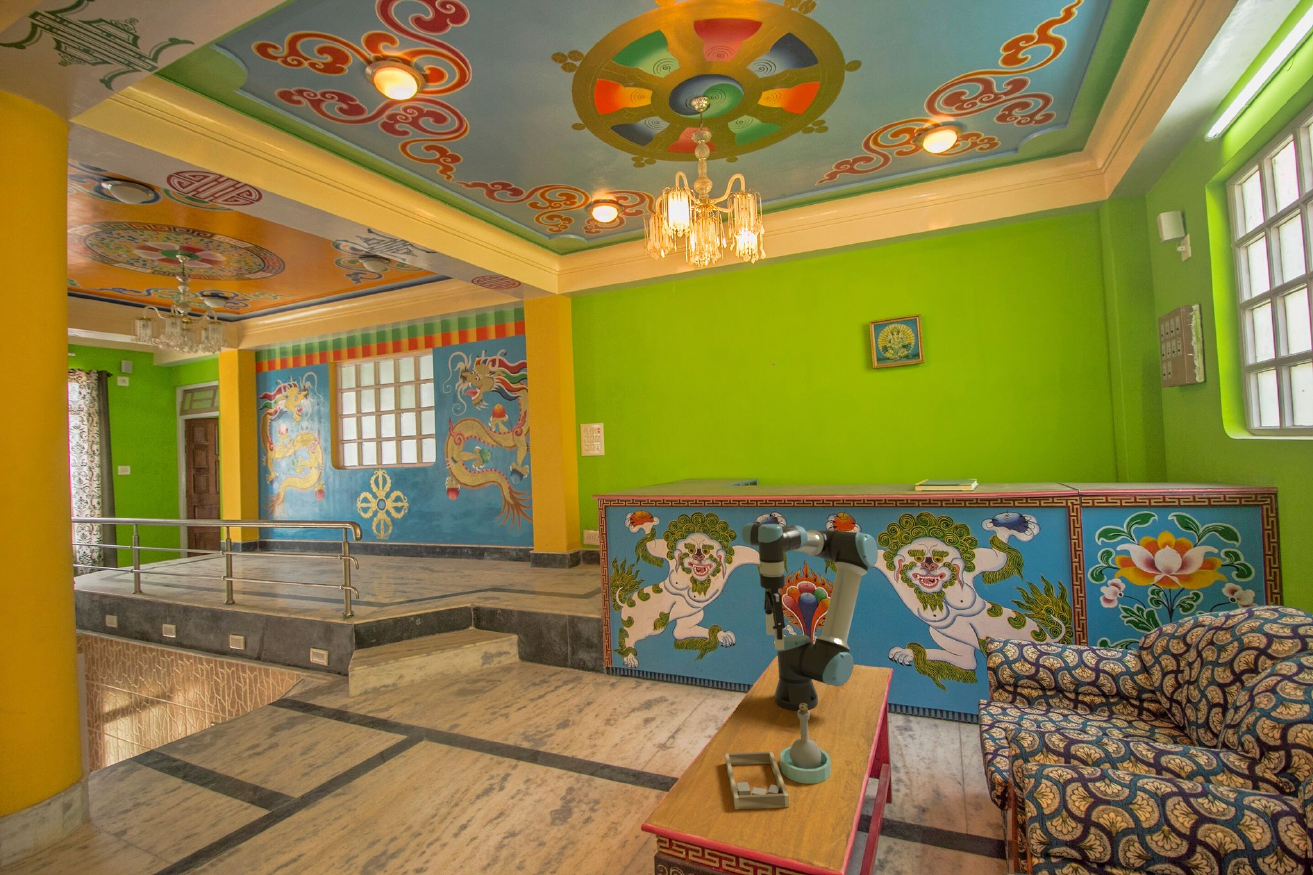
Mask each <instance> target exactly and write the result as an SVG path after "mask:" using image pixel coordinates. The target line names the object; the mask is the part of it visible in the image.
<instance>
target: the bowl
mask: <svg viewBox="0 0 1313 875" xmlns="http://www.w3.org/2000/svg"><path fill="white" fill-rule="evenodd" d="M791 747H792V745H791V746H787V747H786V748H783V750H782V751H781V752H780V755H779V763H780V764H779V766H780V768H779V769H780V770H781V771H780V772H781V774H783V776H784V777H786V778H787V779H789V780H792V781H793V782H796V783H801V784H807V785H811V784H820V783H823V782H825V781H827V780H828V779H829V778H830V777H831V775H832V759H831V757H830V755H829V752H826V751H825V750H823V749H822V748H820V747H819V749H820V752H821V762H820V767H818V768H816V769H802V768H797V767H795V766H794V765H793V762H792V760H791V756H790V751H791Z"/></svg>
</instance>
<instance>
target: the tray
mask: <svg viewBox="0 0 1313 875" xmlns="http://www.w3.org/2000/svg"><path fill="white" fill-rule="evenodd" d="M724 755H725V757H724V759H725V766H726V772H727V776H728V782H729V785H730V786H729V787H730V791H731V795H732V801H733V806H734V809H735V810H752V809H756V810H757V809H776V808H777V809H778V808H779V809H780V808H789V807H790V795H789V792H788V791H787V787H786V785H785V781H784V778H783V777H782V772H781V771H780V768H779V766H778V763H777V760H776V758H775V755H774V752H773V750H772V751H771V750H770V751H751V752H750V751H749V752H729V753H728V752H726V753H724ZM763 764H764V765H765V764H766V765H767V764H769V765H770V767H771V771H772V773H773V775H774V778H775V782H776V784H777V786H780V794H768V793H767V794H761V795H752V794H751V795H738V793H737V783H736V781H735V775H734V771H733V766H737V765H739V766H740V765H741V766H742V765H746V766H747V765H763Z"/></svg>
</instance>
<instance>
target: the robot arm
mask: <svg viewBox="0 0 1313 875" xmlns="http://www.w3.org/2000/svg"><path fill="white" fill-rule="evenodd" d="M741 539H742V542H743V543H744V544H745V545H750V546H755V547H758V554H759V555H758V556H759V563H758V564H757V567H758V568H759V572H760V575H759V581H760V587H762V589H764V605H763V610H764V612H765V632H766V635H767V636H773V637H774V638H773V639H774V650H776V651H777V666H778V682H777V686H776V688H775V692H774V702H775V704H776V705H778V706H780V707H781V708H784V709H787V710H792V711H798V710H799V705H800V704H801V703H806V704H807V705H808V706H807V707H808V710H812V709H814V708H816V707H817V705H818V704H819V698H818V696H819V695H818V693H817V690H816V688H815V684H814V682H813V681H817V682H820V683H822V684H824V685H827V686H833V687H843V686H844V685H845V684H847V683H848V681H849V680H850V678H851V677H852V674H853V671H854V667H855V666H854V658H853V656H852V655H851V653H850V651H851V648H850V646H849V645H848V638H849V634H850V630H851V626H852V621H853V617H854V611H855V607H856V603H857V599H858V594H859V590H860V585H861V581H862V577H863V576H865V575H867V574H868V570H869V568H872V567H874V566H875V565H876V564H877V562H878V558H879V551H878V545H877V542H876V539H874V537H873V536H872V535H871V534H868V533H865V532H861V531H858V532H857V531H848V530H847V531H845V530H835V529H829V530H828V529H827V530H824V529H823V530H820V529H819V530H817V529H816V530H815V529H809V530H807V531H806V529H805V528H804V527H803V526H801V525H797V524H796V525H790V526H786V525H784V526H783V525H781V524H779V523H765V524H763V523H756V522H752V523H751V522H749V523H748V522H747V523H746V524H744V526H743V527H742V530H741ZM791 551H794V552H802V553H805V554H806V555H808V556H811V557H812V556H813V557H816V558H820V559H823V560H827V561H830V562H834V563H833V564H834V566H835V568H836V574H835V578H834V580H833V585H832V586H833V587H832V591H831V594H830V599H829V602H828V607H827V611H826V616H825V621H824V623H823V628H822V632H821V634H820V635H819V636H817V637H816V638H815V641H814V643H812V642H811V641H812V640H811V637H810V636H808V635H807V634H790V635H786V636H785V635H784V634H785V633H784V629H786V624H785V617H784V610H783V602H782V600H783V599H782V596H783V595H782V594H781V593H780V592H779V590H780V589H783V588H784V587H785V585H786V584H785V583H786V582H785V575H784V574H785V560H784V553H787V552H791Z"/></svg>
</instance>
